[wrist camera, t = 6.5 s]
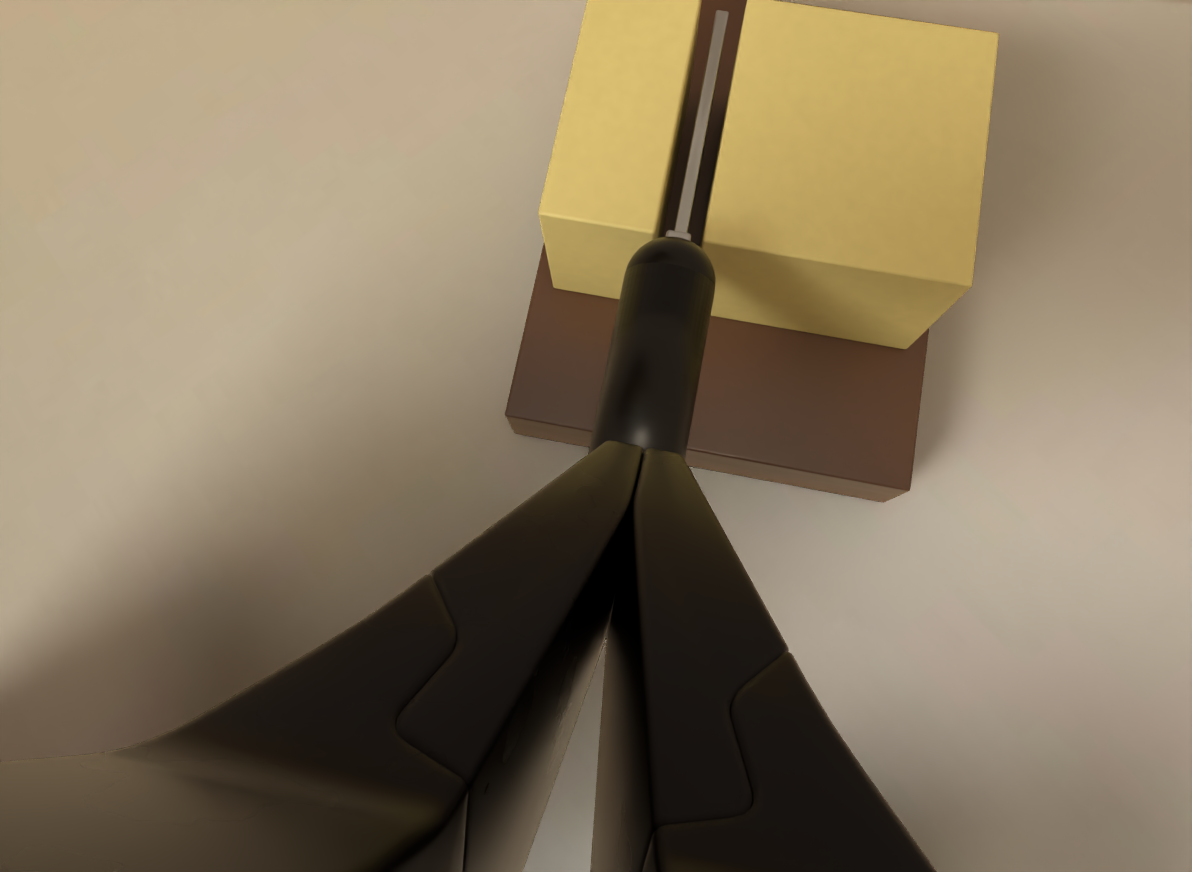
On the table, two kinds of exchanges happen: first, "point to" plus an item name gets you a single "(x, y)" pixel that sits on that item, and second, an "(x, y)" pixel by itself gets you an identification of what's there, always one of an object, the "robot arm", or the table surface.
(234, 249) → the table surface
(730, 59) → the board
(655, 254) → the knife
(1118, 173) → the table surface
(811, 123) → the butter
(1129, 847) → the table surface
